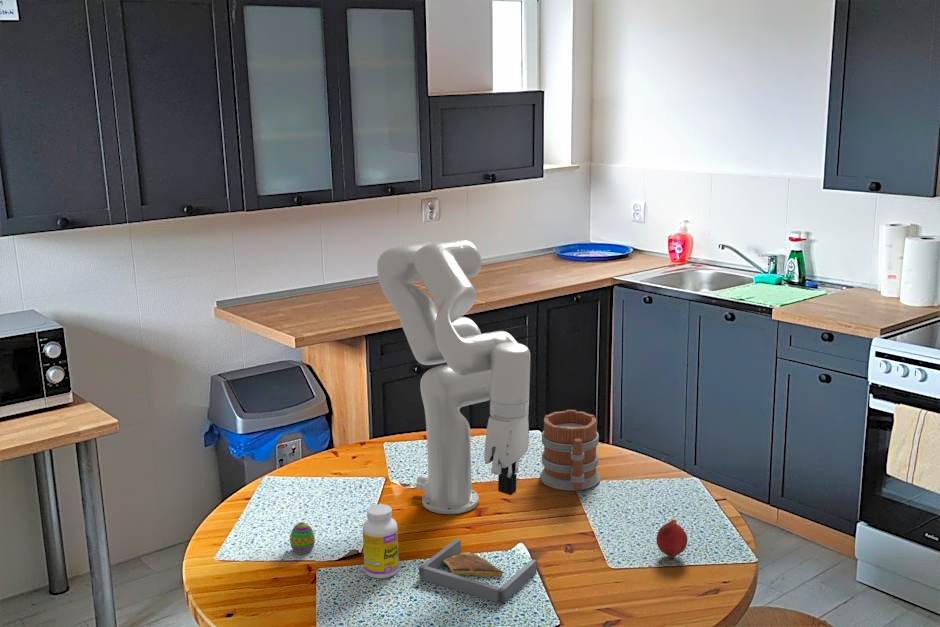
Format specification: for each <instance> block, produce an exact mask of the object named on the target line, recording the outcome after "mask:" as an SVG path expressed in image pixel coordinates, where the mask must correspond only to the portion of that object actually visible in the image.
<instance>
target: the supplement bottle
mask: <svg viewBox="0 0 940 627" xmlns="http://www.w3.org/2000/svg"><path fill="white" fill-rule="evenodd" d="M392 515H393V510H392V507H391V506H390V505H388V504H384V503H382V504H380V503H377V504H373V505H370V506H369V507H368V508H367V509H366V517H367V520H365V521H364V522H363V524H362V543H363V544H362V546H363V549H362V550H363V567H364V573H365V574H366V575H367V576H369V577H371V578H373V579H387V578H390V577H393V576H395V575H396V574H397V573H398V571H399V569H400V559H399V558H400V557H399V554H400V553H399V552H400V551H399V532H398V530H399V529H398V528H399V526H398V523H397V521H396V519H394V518H393V517H392Z"/></svg>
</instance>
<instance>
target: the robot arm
mask: <svg viewBox="0 0 940 627" xmlns="http://www.w3.org/2000/svg"><path fill="white" fill-rule="evenodd" d="M376 264H377V266H376V270H377V271H376V273H377V278H378V282H379V285H380V288H381V291H382V292H383V295H384V296H385V298H386V299H387V301H388V303H389V304H390V306H392V308H393V310H394V312H396V315H397V316H398V319H399V322H400V325H401V328H402V330H403V332H404V334H405V337H406V340H407V342H408V345H409V347H410V350H411V352H412V354H413V357H414V359H415V360H416V361H417V362H418V363H419V364H421V365H425V366H430V365H431V366H432V365H438V366H435V367H432V368H430V369H428V370H427V371H425V373H424V374H423V375H422V377H421V378H420V385H419V386H420V388H419V390H420V394H421V400H422V403H423V407H424V408H423V409H424V416H425V425H426V426H425V427H426V447H427V448H426V449H427V450H426V452H427V474H428V475H427V476H428V477H425V476H421V475H420V476H418V477H417V479H416V483H415V485H414V486H415V489H418V490H422V491H424V494H423V495H422V499H421V502H422V506H423V507H424V508H425V509H426V510H427V511H430V512H432V513H435V514H442V515H456V514H463V513H466V512H469V511H471V510H473V509H475V508H476V507H477V506H478V505H479V504H480V495H479V494H478V493H477V492H476V490H474V489H473V488H472V487H473V485H472V453H471V452H472V451H471V449H472V448H471V447H472V446H471V444H472V443H471V426H470V424H469V423H470V422H469V421H468V420H467V418H466V417H465V416H464V415H463V414H462V412H461V411H460V410H461V408H463V407H467V406H470V405H475V404H479V403H480V404H481V403H482V402H484V403H485V402H487V401H488V402H489V415H490V416H489V417H488V422H487V425H486V432H485V442H484V443H485V444H484V457H483V458H484V462H485V463H484V464H490V463H491V462H492V465H491V472H490V473H491V474H493V475H497V476H498V480H497V482H498V484H497V490H498V492H499V493H502V494H505V495H509V496H513V495H514V494H515V493H517V473H518V471H519V465H520V464H519V463H520V460H521V459H522V457H523V456H525V455H526V453H527V452H528V450H529V441H530V439H529V438H530V428H529V427H530V426H529V425H530V424H529V423H530V422H529V412H530V411H529V410H530V408H529V407H530V384H531V383H530V382H531V378H530V377H531V352H530V349H529V348H528V346H526V345H525V344H523V343H519V342H518V341H517V340H516V339H515V338H514V336H512V334H510V333H509V332H508V331H504V330H497V331H496V330H495V331H492V332H491V331H490V332H484V333H482V332H481V329H480V328H479V326H478V325H477V323H475V322H474V320H472V319H471V318H469V317H467V316H464V315H465V314H467V312H469V311H470V310H471V309H472V307H473V306H474V304H475V303H476V301H477V291H476V289H475V287H474V286H473V284H472V282H471V281H470V279H472V278H474V277H476V276H477V275H478V274H479V273H480V272H481V269H482V258H481V254H480V252H479V249H478V248H477V247H476V246H475V244H474V243H473V242H471V241H469V240H467V239H458V240H457V239H456V240H437V241H430V242H423V243H422V242H421V243H420V242H419V243H411V244H405V245H404V244H403V245H398V246H394V247H391V248H388V249H386V250H385V251H383V252H382V253H381V254H380V255H379V257H378V260H377V263H376ZM419 282H420V283H421V282H422V284H423V285H424V287H425V289H426V290H427V292H428V293H429V294H426V293H425V291H423V290H422V289H420V288H419V287H417V286H415V284H414V283H419ZM429 295H430V296H429ZM437 308H438V310H437ZM445 363H446V364H445ZM439 364H442V365H439Z"/></svg>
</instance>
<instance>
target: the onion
mask: <svg viewBox="0 0 940 627" xmlns="http://www.w3.org/2000/svg"><path fill="white" fill-rule="evenodd" d="M655 540H656V545H657V547H658V550H659V551H661V552H662V554H664V555H666V556H668V557H669V558H671V559H673V558H676V556H679V555H680V554H681V553H683V552H684V551H685V550H686V548H687V547H688V546H687V545H688V536H687V533H686V531H685V530H684V528H683V527H682V526H681V525H680V524H679V523H677V520H676V518H671V519H670V520H669V521H668V522H667V523H665V524H663V525H662V526H661V527H659V529H658V532H657V533H656V538H655Z"/></svg>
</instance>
